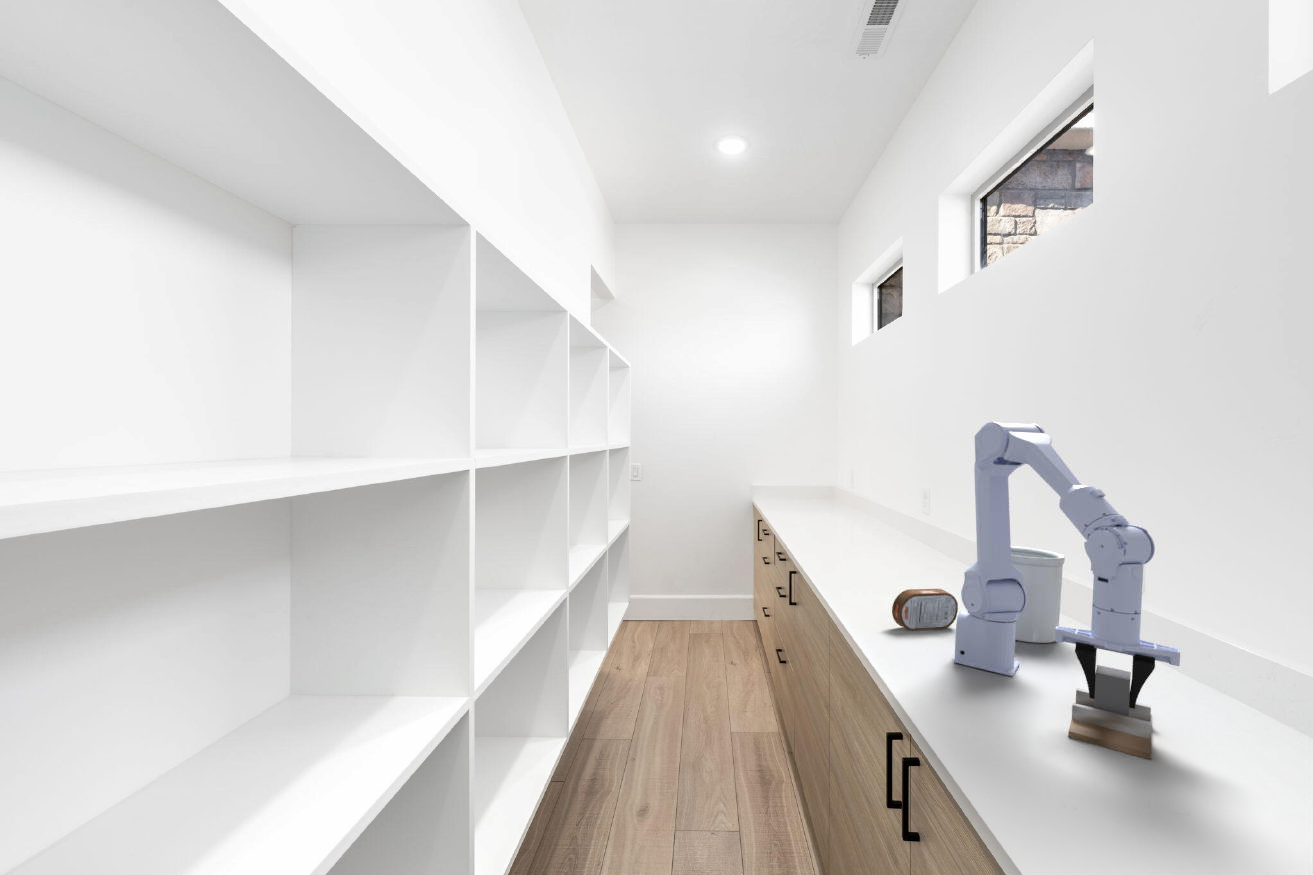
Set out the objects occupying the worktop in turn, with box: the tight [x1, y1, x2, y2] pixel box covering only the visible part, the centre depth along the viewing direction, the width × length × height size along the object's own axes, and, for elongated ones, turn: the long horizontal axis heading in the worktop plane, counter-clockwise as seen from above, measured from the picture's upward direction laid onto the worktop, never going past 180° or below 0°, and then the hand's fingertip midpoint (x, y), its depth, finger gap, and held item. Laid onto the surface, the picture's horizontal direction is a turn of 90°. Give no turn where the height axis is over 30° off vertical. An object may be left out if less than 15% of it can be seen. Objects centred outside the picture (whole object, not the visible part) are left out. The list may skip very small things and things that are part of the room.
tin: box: [891, 588, 959, 631], centre depth 133 cm, size 15×3×8 cm, turn 105°
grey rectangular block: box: [1094, 664, 1132, 717], centre depth 90 cm, size 4×4×6 cm
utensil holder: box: [990, 545, 1066, 644], centre depth 132 cm, size 15×15×18 cm
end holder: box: [1067, 687, 1153, 761], centre depth 90 cm, size 9×18×3 cm, turn 142°
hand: (1111, 701), depth 90 cm, fingers closed on grey rectangular block, 4 cm apart
